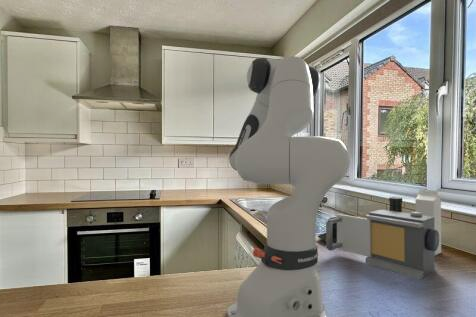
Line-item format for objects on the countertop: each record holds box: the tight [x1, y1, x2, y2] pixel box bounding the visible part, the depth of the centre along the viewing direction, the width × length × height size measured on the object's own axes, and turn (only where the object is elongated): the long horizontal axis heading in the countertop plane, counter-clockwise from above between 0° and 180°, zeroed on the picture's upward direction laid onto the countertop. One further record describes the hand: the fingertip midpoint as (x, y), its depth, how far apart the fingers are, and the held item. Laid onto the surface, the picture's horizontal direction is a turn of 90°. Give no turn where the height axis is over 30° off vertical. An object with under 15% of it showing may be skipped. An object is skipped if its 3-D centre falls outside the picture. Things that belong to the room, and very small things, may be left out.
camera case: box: [364, 209, 439, 280], centre depth 91 cm, size 10×18×17 cm, turn 37°
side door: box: [325, 213, 371, 257], centre depth 98 cm, size 8×12×12 cm
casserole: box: [317, 216, 337, 244], centre depth 121 cm, size 25×19×8 cm
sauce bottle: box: [388, 196, 403, 212], centre depth 104 cm, size 6×6×20 cm
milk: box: [414, 189, 442, 256], centre depth 105 cm, size 6×6×22 cm
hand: (303, 171), depth 108 cm, fingers open, 8 cm apart
